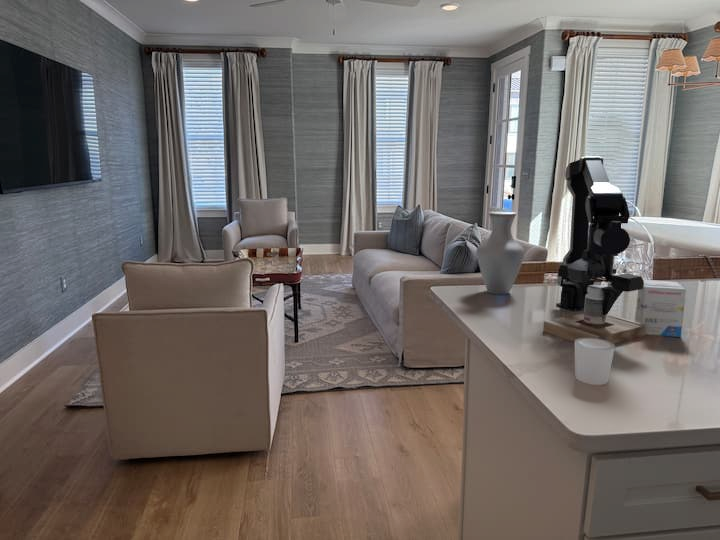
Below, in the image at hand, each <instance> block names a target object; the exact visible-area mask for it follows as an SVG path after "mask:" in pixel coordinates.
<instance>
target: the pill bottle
mask: <svg viewBox="0 0 720 540" xmlns="http://www.w3.org/2000/svg"><path fill="white" fill-rule="evenodd" d="M603 287H605V286H604V285H598V284H594V285H589V286H588V288H587V292H588V293H587V294H586V295H585V306H584V309H583V313H584V317H583V320H584V321H585V322H588V323H592V324H603V323H605V319H606V315H603V300H604V293H603V291H602V289H601V288H603Z"/></svg>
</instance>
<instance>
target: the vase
mask: <svg viewBox="0 0 720 540" xmlns="http://www.w3.org/2000/svg"><path fill="white" fill-rule="evenodd" d="M488 215H489V218H490V223H491V233H490V235H489V237H488V238H487V239H486V240H484V241H483V242H482V243H480V244H479V245H478V247H477V248H476V259H477V261H478V267H479V270H480V274H481V277H482V280H483V283H484V285H485V288H486V290H487V293H489V294H493V295H499V296H500V295H507V294H510V291H511V289H512V288H513V286H514V284H515V282H516V279H517V277H518V276H519V272H520V269H521V267H522V265H523V261H524V259H525V253H526V252H525V248H524V247H523V246H522V245H521V244H520V243H519V242H517V240H515V238H514V237H513V235H512V224H513V222H514V219H515V217H516V216H517V212H512V211H489V212H488Z"/></svg>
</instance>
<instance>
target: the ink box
mask: <svg viewBox="0 0 720 540" xmlns="http://www.w3.org/2000/svg"><path fill="white" fill-rule="evenodd" d="M643 281H644V286H643V289H640V290H637V298H636V307H635V315H634V321H635V322H639V323H642V324H646V332H645V336H646V335H648V336H659V337H672V338H673V337H674V338H675V337H676V338H682V330H683V329H682V328H683V321H684V312H685V303H686V292H687V291H686V288H684V286H683V285H681V284H680V283H679V282H677V281H668V280H667V281H666V280H656V279H655V280H653V279H651V280H650V279H643Z"/></svg>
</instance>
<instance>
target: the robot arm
mask: <svg viewBox="0 0 720 540" xmlns="http://www.w3.org/2000/svg"><path fill="white" fill-rule="evenodd" d="M564 172H565V174H564V176H565V178H564V179H565V181H566V187H567V189H568V191H569V192H570V194H571V196H572V202H571V206H572V207H571V222H570V241H569V250H568V251H567V252H566V254H565V255H564V257H563V259H562V264H561V265H560V266H559V268H558V269H557V275H556V276H557V279H556V280H557V284H558V285H559V287H561V291H560V299H559V302H557V303H556V304H555V306H557V307H560V308H561V307H562V308H563V309H568V310H571V311H580V310H584V306H585V295H586V294H587V293H588V292H587V288H588V286H589V285H595V281H599V282H604V283H607V286H604V287H603V288H601V289H602V291H603V293H604V300H603V315H607V314H609V312H610V311H611V309H612V308H613V306H614V305H615V303H616V301H617V299H619V297H620V296H621V295H622V293H623V292H626V293H628V292H629V293H630V292H634V291H638V290H640V289H643V286H644V281H643V280H644V278H643V277H642V275H637V274H636V275H635V274H631V273H622V274H617V268H614V262H615V257H618V256H619V254H622V253H623V252H624V251H626V250H627V248H629V245H630V244H631V237H630V235H629V232H627V230H626V229H624V228H623V227H622V224H628V223H629V219H630V216H631V215H630V210H629V205H628V202H627V200H626V199H627V198H626V197H625V196H624V194H623V192H622V191H621V190H620V189H621V188H619V187H617V186H616V185H613V184H611V182H610V179H609V178H608V174H607V172H606V170H605V167H604V159H603V156H602V157H601V156H599V155H596V156H595V155H594V156H593V155H592V156H591V155H590V156H589V155H585V156H582V157H580V158H579V159H578V160H575V161H572V162H569V163H568V165H567V166H566V168H565V171H564ZM614 274H617V275H614Z"/></svg>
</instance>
